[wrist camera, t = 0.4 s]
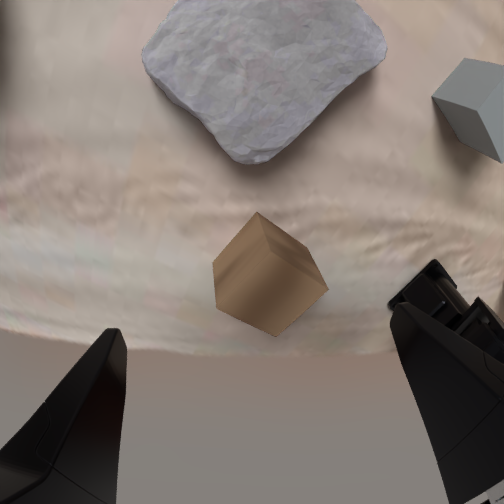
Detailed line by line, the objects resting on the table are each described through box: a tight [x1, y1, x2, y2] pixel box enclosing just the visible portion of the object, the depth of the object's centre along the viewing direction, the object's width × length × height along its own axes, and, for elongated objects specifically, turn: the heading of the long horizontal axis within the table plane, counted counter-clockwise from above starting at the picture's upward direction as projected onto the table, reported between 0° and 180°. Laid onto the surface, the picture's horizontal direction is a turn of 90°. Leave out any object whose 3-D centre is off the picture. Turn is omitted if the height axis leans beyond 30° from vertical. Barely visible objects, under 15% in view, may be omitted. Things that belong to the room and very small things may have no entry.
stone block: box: [141, 0, 387, 165], centre depth 15 cm, size 12×5×10 cm
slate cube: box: [432, 58, 504, 164], centre depth 17 cm, size 5×5×5 cm
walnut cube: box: [213, 212, 329, 337], centre depth 22 cm, size 5×5×5 cm
